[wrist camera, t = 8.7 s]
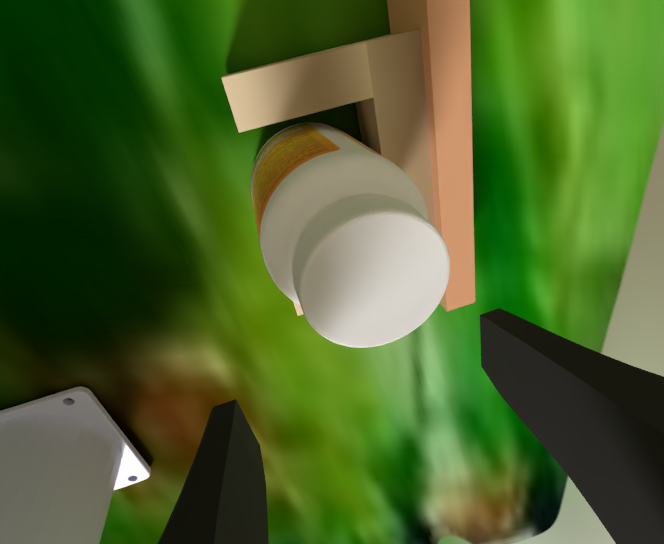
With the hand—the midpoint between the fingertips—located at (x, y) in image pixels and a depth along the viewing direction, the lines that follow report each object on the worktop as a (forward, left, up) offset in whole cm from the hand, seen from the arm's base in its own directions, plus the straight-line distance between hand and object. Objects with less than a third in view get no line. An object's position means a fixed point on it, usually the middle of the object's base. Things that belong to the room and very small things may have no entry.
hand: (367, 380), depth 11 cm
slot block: (+2, +3, -10) cm, 10 cm away
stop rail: (+6, +3, -10) cm, 12 cm away
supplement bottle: (+1, +3, -10) cm, 10 cm away
